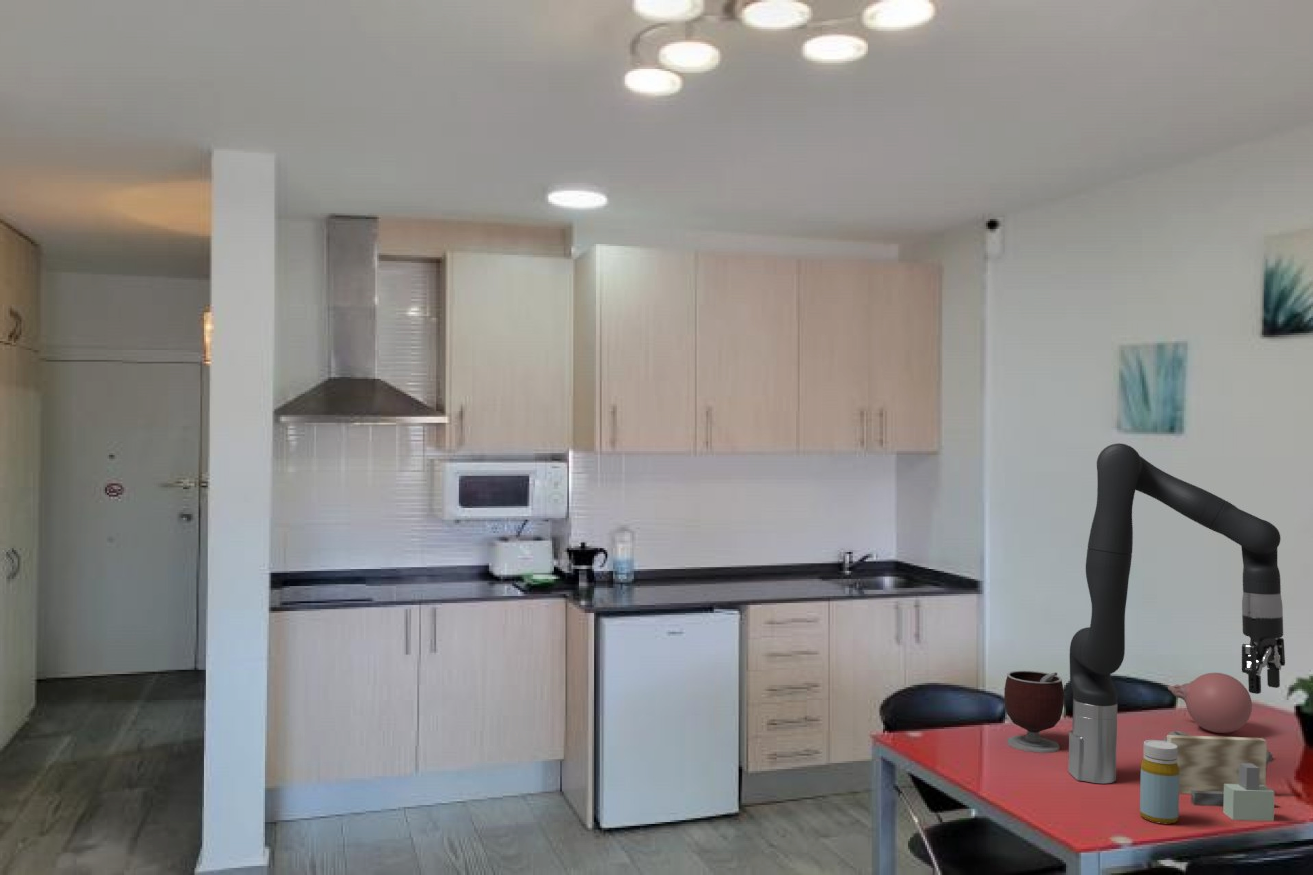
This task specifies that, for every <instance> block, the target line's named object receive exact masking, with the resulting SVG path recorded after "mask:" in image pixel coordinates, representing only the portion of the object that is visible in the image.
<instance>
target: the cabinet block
mask: <svg viewBox="0 0 1313 875" xmlns="http://www.w3.org/2000/svg"><path fill="white" fill-rule="evenodd" d="M1259 770H1260V768H1259V767H1257V766H1255V765H1254V764H1252V763H1239V784H1224V804H1223V806H1222V807H1223V814H1225V816H1227V817H1229V818H1230V819H1231V820H1233V821H1257V822H1258V821H1259V822H1274V821H1275V791H1274V790H1273V789H1271V788H1270V787H1269V786H1266V784H1265V785H1259Z"/></svg>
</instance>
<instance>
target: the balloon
mask: <svg viewBox="0 0 1313 875" xmlns="http://www.w3.org/2000/svg"><path fill="white" fill-rule="evenodd" d="M1167 690H1168V691H1170V692H1171V693H1172V695H1173V696H1175V697H1176V698H1177V699H1181V700H1183V702H1184V703H1185V706H1186V709H1187V712H1188V714H1189V716H1190V718H1191V719H1192V720H1193V721H1194V722H1195V723H1196V724H1197V725H1198V726H1200V727H1201V728H1203V729H1204V730H1206V731H1209V732H1210V733H1217V734H1229V733H1234V732H1236V731H1237V730H1240V729H1241V728H1243V727H1244V726H1245V725H1246V724H1247V723H1248V721H1249V720H1250V718H1251V714H1252V712H1253V702H1252V698H1251V695H1250V692H1249V690H1248V689H1247V688H1246V687H1245V685H1244V684H1243V683H1242V682H1241V681H1240V680H1238V679H1237V678H1235V677H1234V676H1231V675H1229V674H1227V673H1223V672H1209V673H1204V674H1201V675H1200V676H1198V677H1197V678H1195V679H1194V680H1192V681H1190V682H1189V683H1183V684H1181V685H1179V684H1175V685H1170V686H1168V687H1167Z"/></svg>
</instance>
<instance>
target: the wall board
mask: <svg viewBox="0 0 1313 875" xmlns="http://www.w3.org/2000/svg"><path fill="white" fill-rule="evenodd" d="M1166 737H1167V742H1170V743H1173V744H1175V745H1177V747H1178V753H1177V764H1178V767H1179V795H1180V794H1183V795H1184V794H1186V795H1187V794H1188V795H1190V796H1191V798H1190V799H1191V800H1190V801H1191V802H1190V803H1191V804H1192V805H1194V806H1211V807H1212V806H1214V807H1215V806H1218V807H1223V804H1224V784H1239V763H1252V764H1254V765H1255V766H1257V767H1259V768H1260V770H1259V785H1265V786H1266V778H1267V777H1266V776H1267V774H1266V773H1267V769H1266V768H1267V765H1266V750H1267V740H1265V739H1264V738H1263V737H1243V736H1242V737H1240V736H1215V735H1214V736H1210V735H1209V736H1208V735H1207V736H1206V735H1191V736H1183V735H1169V734H1167V735H1166Z"/></svg>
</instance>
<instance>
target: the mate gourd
mask: <svg viewBox="0 0 1313 875" xmlns="http://www.w3.org/2000/svg"><path fill="white" fill-rule="evenodd" d="M1062 680H1063V679H1062V677H1061V676H1059V675H1058V672H1051V673H1050V672H1049V673H1048V672H1043V671H1035V670H1016V671H1015V670H1014V671H1009V672H1008V673H1007V674H1006V680H1005V685H1004V690H1003V691H1004V692H1003V693H1004V694H1003V697H1004V706H1005V712H1006V714H1007V716H1008V717H1009V719H1010V720H1011V722H1012V723H1013V724H1015V725H1016V726H1018V727H1020V728H1021V729H1024V730H1025V731H1027V732H1026V734H1025V735H1014V736H1010V737H1008V738H1007V740H1006V744H1007V743H1008V744H1007V745H1008V746H1009V745H1010V746H1011V748H1012V747H1015V748H1016V749H1015V748H1014V749H1015V750H1018V749H1021V750H1020V751H1022V750H1024V752H1027V751H1033V752H1032V753H1034V752H1039V753H1038V754H1051V753H1055V752H1058V751H1060V744H1059V743H1058V742H1057V741H1054V740H1052V739H1049V738H1046V737H1041V735H1040V732H1042V731H1046V730H1050V729H1052V728H1054V727H1056V725H1057V724H1058V723H1059V722H1060V721H1061V719H1062V716H1063V711H1064V706H1065V693H1064V685H1063V681H1062ZM1010 746H1009V747H1010Z"/></svg>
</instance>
